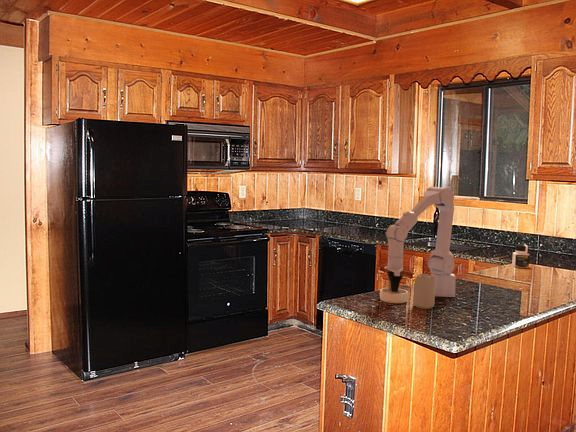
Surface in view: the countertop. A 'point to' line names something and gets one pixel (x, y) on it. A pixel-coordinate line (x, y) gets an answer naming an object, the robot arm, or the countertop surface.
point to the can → (424, 291)
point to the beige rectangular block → (390, 288)
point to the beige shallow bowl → (394, 296)
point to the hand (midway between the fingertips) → (394, 290)
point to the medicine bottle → (521, 256)
